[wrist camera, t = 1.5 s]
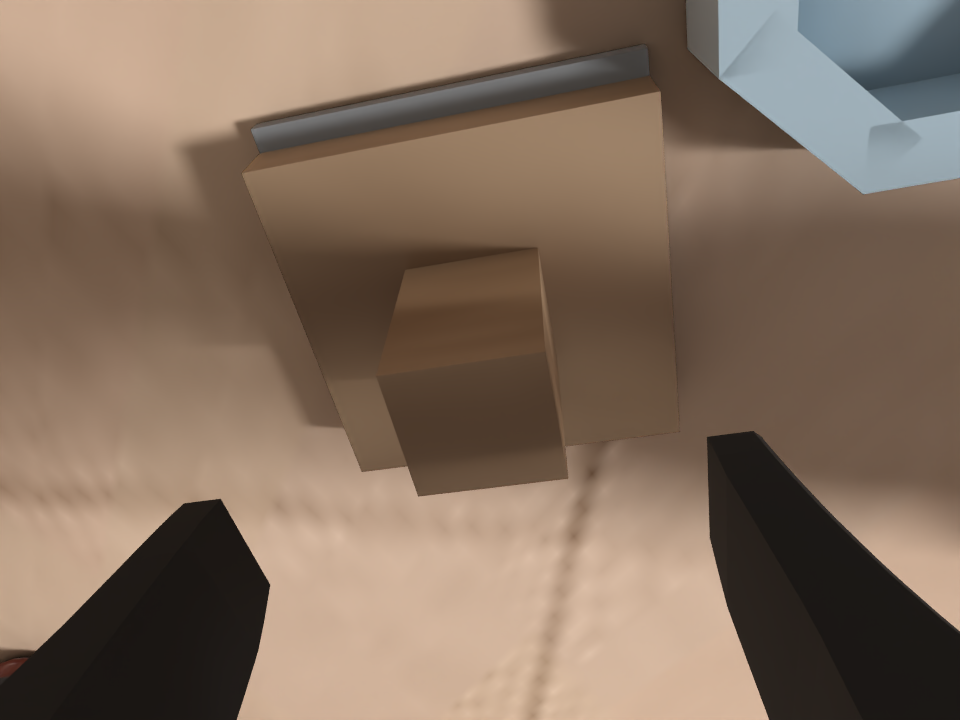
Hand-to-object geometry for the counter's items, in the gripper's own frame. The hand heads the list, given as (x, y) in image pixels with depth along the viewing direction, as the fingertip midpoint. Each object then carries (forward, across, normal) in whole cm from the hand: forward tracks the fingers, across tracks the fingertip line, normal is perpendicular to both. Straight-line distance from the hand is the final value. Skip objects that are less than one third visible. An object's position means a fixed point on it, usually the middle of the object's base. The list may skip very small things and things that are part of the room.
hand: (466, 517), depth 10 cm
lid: (+7, 0, 0) cm, 7 cm away
